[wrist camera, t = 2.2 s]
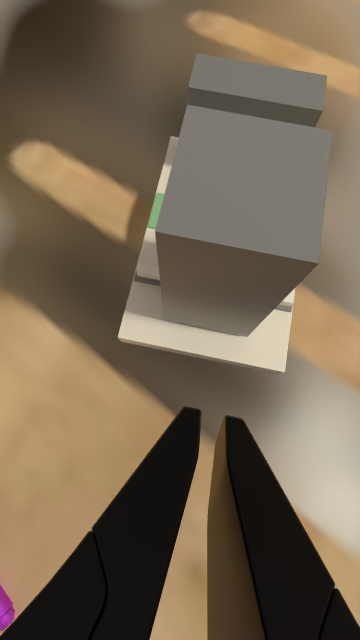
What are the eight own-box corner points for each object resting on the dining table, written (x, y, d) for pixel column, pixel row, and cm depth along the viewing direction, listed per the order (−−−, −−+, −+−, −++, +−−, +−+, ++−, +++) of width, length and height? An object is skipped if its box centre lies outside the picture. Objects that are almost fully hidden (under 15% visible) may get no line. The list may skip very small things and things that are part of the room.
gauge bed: (278, 374, 20) (332, 355, 14) (120, 341, 21) (94, 306, 14) (303, 173, 24) (355, 79, 18) (171, 149, 25) (169, 47, 18)
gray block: (282, 344, 19) (389, 277, 10) (129, 312, 20) (87, 218, 10) (292, 267, 21) (394, 141, 11) (149, 239, 21) (128, 94, 11)
